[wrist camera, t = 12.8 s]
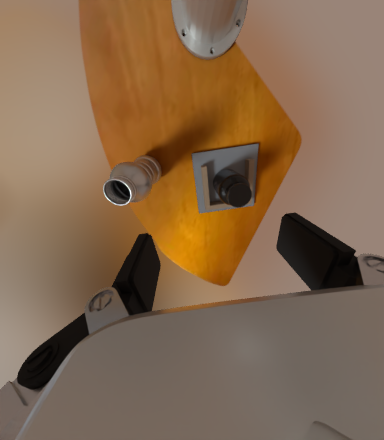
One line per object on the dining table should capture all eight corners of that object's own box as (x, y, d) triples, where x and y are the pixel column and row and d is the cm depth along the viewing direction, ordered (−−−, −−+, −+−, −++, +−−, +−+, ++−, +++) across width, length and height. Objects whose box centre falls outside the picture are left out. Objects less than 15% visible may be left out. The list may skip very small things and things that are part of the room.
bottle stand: (191, 153, 35) (192, 154, 32) (256, 143, 35) (263, 143, 32) (198, 211, 43) (200, 217, 40) (252, 204, 42) (257, 209, 39)
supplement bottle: (235, 163, 36) (256, 172, 25) (240, 189, 39) (260, 206, 28) (209, 173, 37) (218, 185, 26) (215, 197, 40) (226, 217, 29)
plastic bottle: (148, 148, 34) (110, 153, 17) (168, 171, 37) (153, 196, 19) (131, 166, 36) (79, 188, 18) (151, 186, 39) (122, 223, 21)
